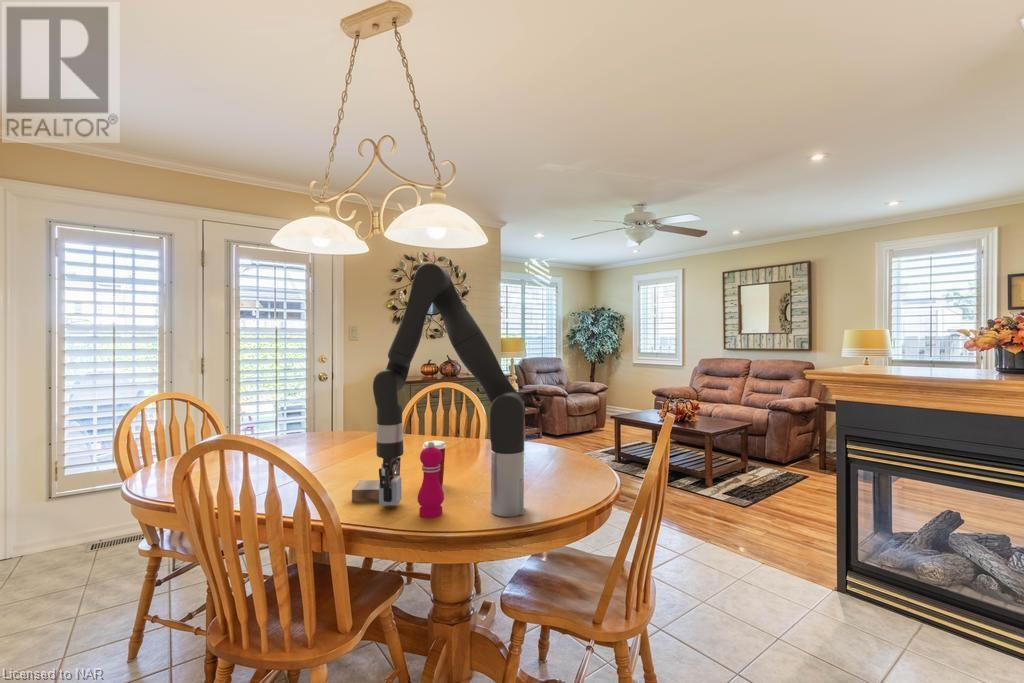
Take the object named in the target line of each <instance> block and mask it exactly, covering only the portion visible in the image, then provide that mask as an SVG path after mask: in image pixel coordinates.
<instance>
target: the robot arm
mask: <svg viewBox="0 0 1024 683" xmlns="http://www.w3.org/2000/svg"><path fill="white" fill-rule="evenodd" d="M454 284H455V283H454V282H453V279H452V278H451V275H450V273H448V271H447V270H446V268H444V267H442V266H440V265H439V264H436V263H432V262H427V263H424V264H421V265H420V266H418V268H417V270H415V273H414V276H413V279H412V284H411V286H410V292H409V296H408V299H407V303H406V307H405V310H404V313H403V315H402V318H401V321H400V324H399V326H398V329H397V330H396V332H395V335H394V337H393V340H392V342H391V345H390V347H389V350H388V353H387V358H388V363H387V365H386V368H385V369H384V370H380V371H379V372H378V373H376V375H375V376H374V378H373V382H372V391H373V397H374V398H373V399H374V401H375V402H374V403H375V406H376V423H377V424H376V432H375V435H376V436H375V437H376V438H375V439H376V440H375V441H376V442H375V443H376V445H375V447H376V451H375V452H376V456H377V458H380V459H381V458H382V463H381V467H379V469H378V478H379V479H378V480H380V488H383V499H384V502H391V500H392V480H394V477H395V476H400V477H401V457H402V456H403V454H404V428H403V427H404V426H403V408H402V404H401V403H399V401H398V392H399V391H401V390H402V389H403V388H404V386H405V383H406V382H407V379H408V376H409V373H410V372H409V371H410V368H411V362H412V361H413V359H414V356H415V354H416V352H417V349H418V346H419V344H420V342H421V338H422V335H423V330H424V325H425V321H426V318H427V314H428V312H429V310H430V308H431V305H432V304H433V305H434V307H435V308H436V310H437V311H438V313H439V315H440V317H441V318H442V321H443V324H444V327H445V331H446V333H447V337H448V340H449V341H450V344H451V346H452V348H453V349H454V352H455V353H456V354H457V356H458V358H459V359H460V361H461V362H462V364H463V365H464V366H465V368H466V369H467V371H469V373H470V374H472V376H473V377H474V378H475V379H476V380H477V382H479V384H480V385H481V387H482V389H483V390H484V392H485V394H486V397H487V398H488V400H489V402H490V404H491V405H490V410H489V438H490V449H491V450H490V513H491V514H493V515H495V516H498V517H505V518H508V517H509V518H510V517H511V518H512V517H517V516H523V515H524V514H525V513H524V512H525V510H524V508H525V506H524V504H525V492H524V491H525V437H524V426H525V424H524V422H525V421H524V420H525V418H524V414H525V408H526V406H525V402H524V400H523V398H522V397H521V395H520V394H519V392H517V390H516V389H515V387H514V386H513V385H512V383H511V382H510V381H509V379H508V377H506V375H505V373H504V371H503V370H502V368H501V365H500V364H499V361H498V358H497V357H496V355H495V353H494V351H493V349H492V347H491V346H490V343H489V342H488V340H487V337H486V336H485V334H484V333H483V332H482V330H481V328H480V327H479V325H478V323H477V322H476V320H475V319H474V317H473V316H472V314H471V313H470V312H469V310H468V309H467V308H466V306H465V305H464V303H463V302H462V300H461V297H460V295H459V294H458V292H457V288H456V287H455V285H454ZM389 476H391V477H389ZM386 481H387V484H385V482H386Z"/></svg>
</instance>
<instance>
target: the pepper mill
mask: <svg viewBox="0 0 1024 683" xmlns="http://www.w3.org/2000/svg"><path fill="white" fill-rule="evenodd" d="M419 459H420V462H421V464H422V465H421V468H422V469H421V471H422V472H423V478H422V482H421V487H420V488H419V491H418V493H417V494H418V495H417V503H418V504H419V505H420V507H419V514H418V515H419V516H420V517H422V518H426V519H431V518H432V519H433V518H434V519H435V518H438V517H440V516H441V515H442V514H443V506H442V504H443V502H444V501H445V494H444V490H443V488H442V487H443V486H441V485H440V482H439V476H438V474H439V470H440V464H439V463H440V462H441V460H442V453H441V451H440V450H439V449H438V448H435V447H434V443H433V442H429V443H428V448H425V449H424V450H423V449H422V450H421V452H420V454H419Z"/></svg>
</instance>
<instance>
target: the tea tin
mask: <svg viewBox="0 0 1024 683" xmlns="http://www.w3.org/2000/svg"><path fill="white" fill-rule="evenodd" d="M389 477H391V476H389ZM385 484H387V481H386V482H385ZM402 498H403V497H402V477H401V475H400V476H395V477H394V480H392V500H391V502H384V499H383V488H380V482H379V502H378V506H398V504H399V503H400V502H401V501H402V500H403V499H402Z"/></svg>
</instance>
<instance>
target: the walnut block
mask: <svg viewBox="0 0 1024 683" xmlns="http://www.w3.org/2000/svg"><path fill="white" fill-rule="evenodd" d="M379 482H380V479H378V480H375V479H374V480H373V479H371V480H369V479H368V480H365V479H363V480H359V481H358V482H357V483H356V484H355V486H353V487H352V490H351V502H352V503H379Z"/></svg>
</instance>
